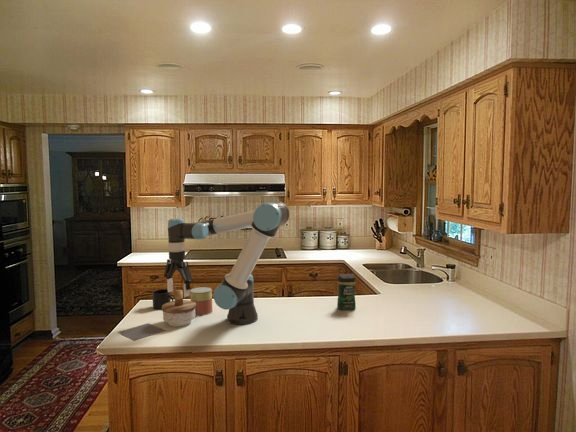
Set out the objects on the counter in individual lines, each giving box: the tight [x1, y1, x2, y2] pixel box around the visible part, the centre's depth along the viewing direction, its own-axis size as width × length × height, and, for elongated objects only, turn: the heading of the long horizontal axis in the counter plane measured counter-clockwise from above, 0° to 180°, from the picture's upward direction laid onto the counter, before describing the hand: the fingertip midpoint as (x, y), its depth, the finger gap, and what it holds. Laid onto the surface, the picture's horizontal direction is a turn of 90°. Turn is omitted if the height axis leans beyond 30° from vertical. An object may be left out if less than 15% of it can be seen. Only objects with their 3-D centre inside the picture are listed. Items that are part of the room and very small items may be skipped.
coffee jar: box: [336, 273, 357, 311], centre depth 222 cm, size 10×8×19 cm
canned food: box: [189, 286, 213, 316], centre depth 220 cm, size 11×11×12 cm
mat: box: [118, 322, 167, 342], centre depth 192 cm, size 16×16×1 cm
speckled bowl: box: [162, 309, 196, 327], centre depth 203 cm, size 15×15×8 cm
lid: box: [161, 289, 196, 313], centre depth 202 cm, size 16×16×8 cm
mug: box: [151, 288, 174, 311], centre depth 229 cm, size 9×12×9 cm
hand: (178, 294), depth 202 cm, fingers open, 13 cm apart
